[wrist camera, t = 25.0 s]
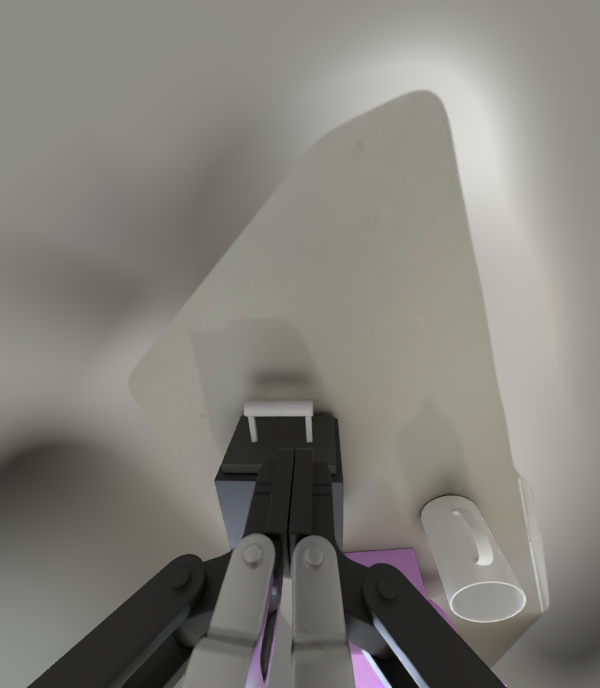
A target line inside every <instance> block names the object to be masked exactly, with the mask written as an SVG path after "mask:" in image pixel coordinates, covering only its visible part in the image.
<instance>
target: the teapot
mask: <svg viewBox="0 0 600 688" xmlns="http://www.w3.org/2000/svg"><path fill="white" fill-rule="evenodd" d="M343 554H344V555H346V556H347V557H348V558H349V559H351V560H353V561H355V562H357V563H360V564H362V565H364V566H367V567H370V566H372V565H374V564H377V563H387V564H390V565H392V566H394V567H396V568H397V569H398V570H400V571H401V572H402V573H403V574H404V575H405V577H406V578H407V579H408V580H409V581H410V582H411V583H412V584H413V585H414V586H415V587H416V589H417V590H418V591H419V592H420V593H421V594H422V595H423V596H424V597H425V598H426V600H427V601H428V602H429V603H430V604H431V605H432V606H433V607H434V608H435V609H436V611H437V612H438V613H439V614H440V615H441V616H442V617H443V618H444V619H445V620H446V621H447V623H448V624H449V625H450V626H451V627H452V628H453V629H454V630H455V631H456V632H457V630H456V628H455V627H454V625H453V623H452V622H451V620H450V619H449V617H448V616H447V615H446V613H445V612H444V611H443V610H442V609H441V608H440V607H439V606H438V605H437V604H435V603H434V602H433V601H431V600H429V599H427V596H426V592H425V589H424V585H423V582H422V578H421V575H420V571H419V568H418V564H417V561H416V557H415V554H414V550H413V548H408V549H394V550H381V551H367V552H353V553H343ZM457 634H458V632H457ZM458 635H459V634H458ZM348 643H349V642H348ZM349 646H350V651H351V656H352V663H353V670H354V678H355V686H356V688H385V686H384V685H383V683H382V682H381V680H380V679H379V677H378V676H377V674H376V672H375V671H374V669H373V668H372V666H371V665H370V663H369V662H368V660H367V659H366V657H365V655H364V654H363V652H362V650H361V649H360V648H358V647H356V646H354V645H353V644H351V643H349ZM501 682H502V681H501ZM502 683H503V682H502ZM503 684H504V685H505V686H506V687H507V685H506V684H505V683H503Z"/></svg>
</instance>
